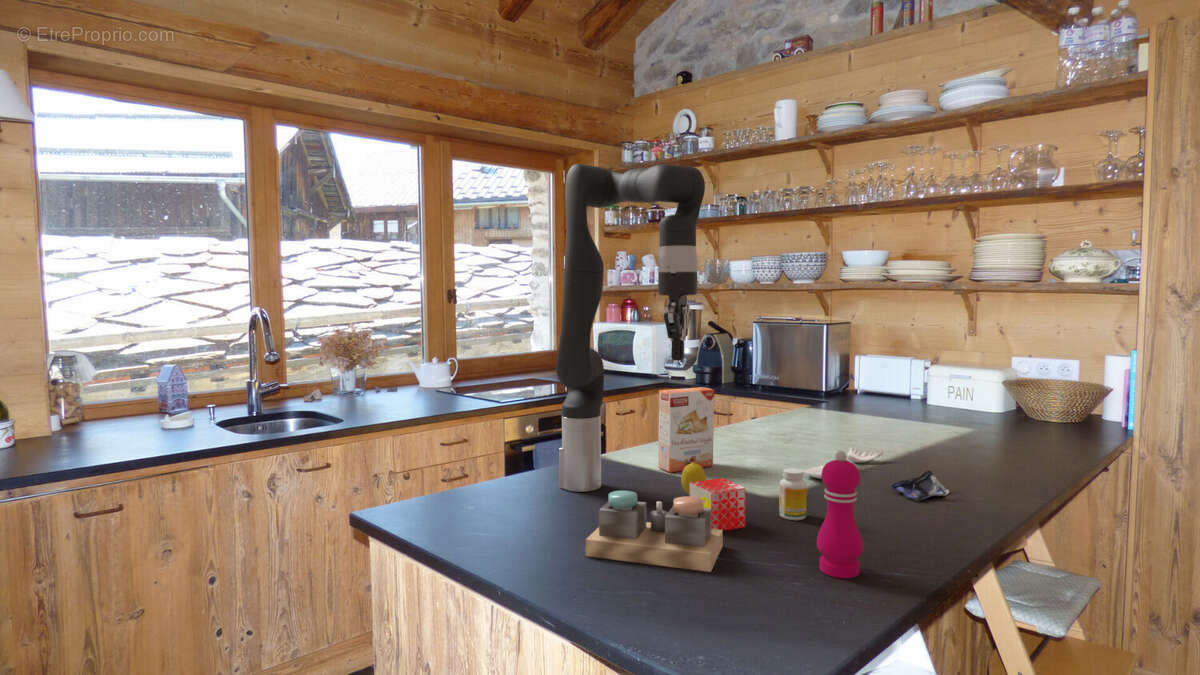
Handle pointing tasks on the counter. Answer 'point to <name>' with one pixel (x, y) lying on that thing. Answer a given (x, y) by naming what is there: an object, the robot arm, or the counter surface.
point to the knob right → (688, 506)
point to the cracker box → (686, 428)
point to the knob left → (623, 500)
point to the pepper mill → (840, 520)
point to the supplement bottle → (792, 495)
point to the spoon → (851, 455)
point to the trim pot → (658, 519)
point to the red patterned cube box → (721, 502)
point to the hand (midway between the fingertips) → (677, 359)
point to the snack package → (921, 487)
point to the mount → (656, 539)
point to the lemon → (692, 475)
